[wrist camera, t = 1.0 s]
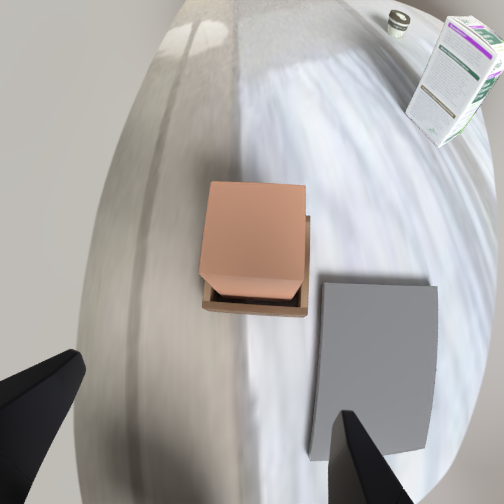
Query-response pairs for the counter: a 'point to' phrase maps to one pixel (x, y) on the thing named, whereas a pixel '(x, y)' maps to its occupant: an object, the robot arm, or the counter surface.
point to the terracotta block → (254, 240)
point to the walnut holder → (299, 311)
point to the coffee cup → (397, 23)
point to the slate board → (376, 364)
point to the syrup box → (456, 78)
